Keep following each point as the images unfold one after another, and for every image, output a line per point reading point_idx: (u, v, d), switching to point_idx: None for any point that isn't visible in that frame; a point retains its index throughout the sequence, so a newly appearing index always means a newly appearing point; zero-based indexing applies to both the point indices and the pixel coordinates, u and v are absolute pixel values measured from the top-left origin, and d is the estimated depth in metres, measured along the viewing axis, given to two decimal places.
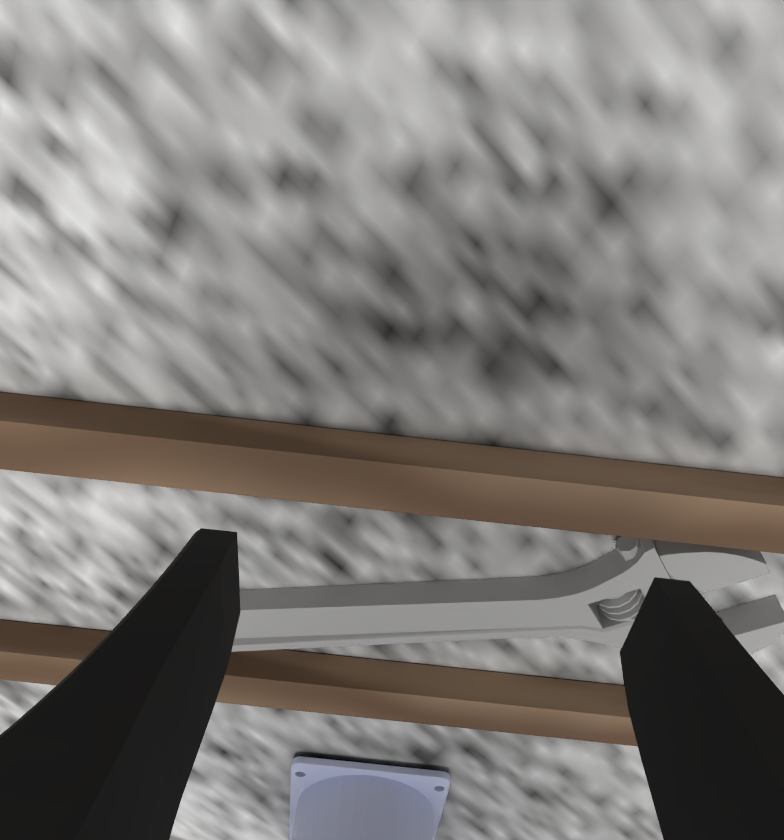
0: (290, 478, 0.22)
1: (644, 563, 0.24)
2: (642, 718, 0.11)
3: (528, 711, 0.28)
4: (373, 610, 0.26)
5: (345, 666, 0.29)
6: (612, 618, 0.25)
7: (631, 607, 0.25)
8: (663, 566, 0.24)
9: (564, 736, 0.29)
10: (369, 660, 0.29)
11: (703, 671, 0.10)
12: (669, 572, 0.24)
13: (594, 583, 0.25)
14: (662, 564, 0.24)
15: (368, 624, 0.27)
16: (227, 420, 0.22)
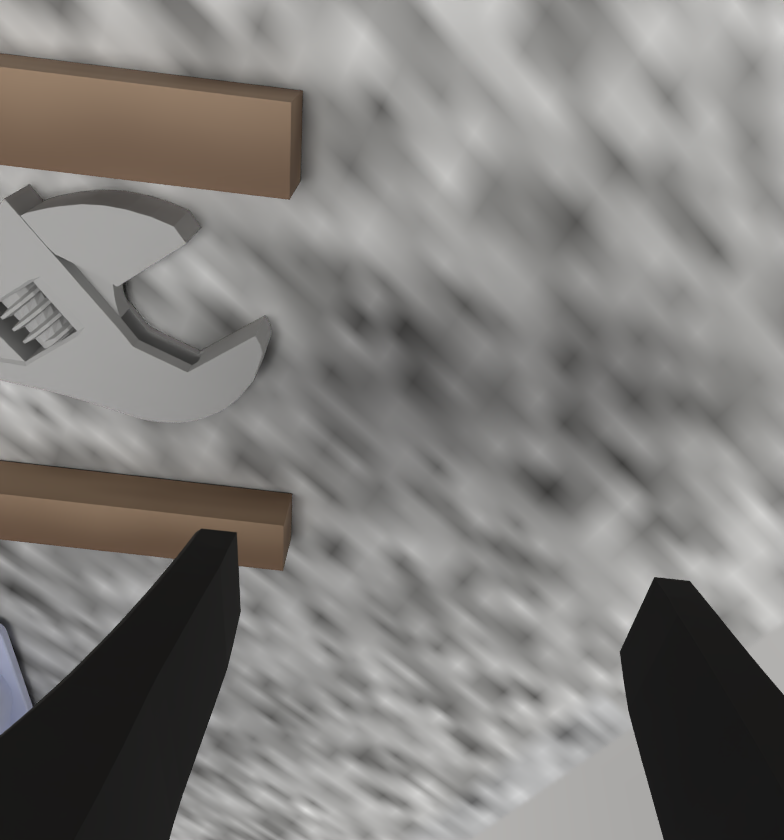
0: None
1: (8, 231, 0.16)
2: (642, 718, 0.11)
3: None
4: None
5: None
6: (24, 340, 0.18)
7: (31, 315, 0.17)
8: (36, 236, 0.16)
9: (67, 545, 0.22)
10: None
11: (702, 672, 0.10)
12: (50, 247, 0.16)
13: None
14: (33, 232, 0.16)
15: None
16: None
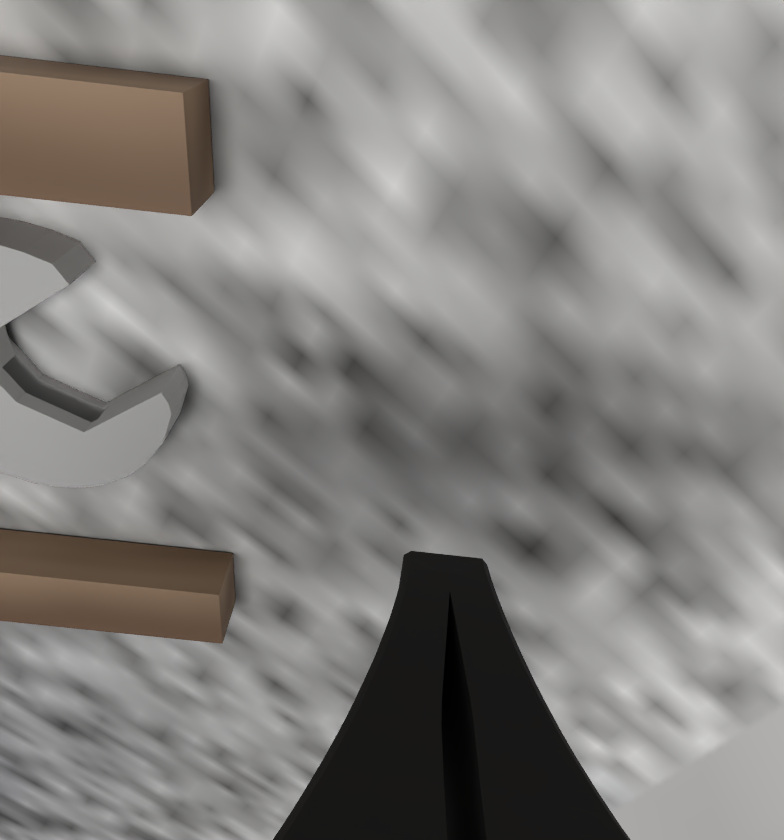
0: None
1: None
2: None
3: None
4: None
5: None
6: None
7: None
8: None
9: None
10: None
11: (456, 646, 0.09)
12: None
13: None
14: None
15: None
16: None
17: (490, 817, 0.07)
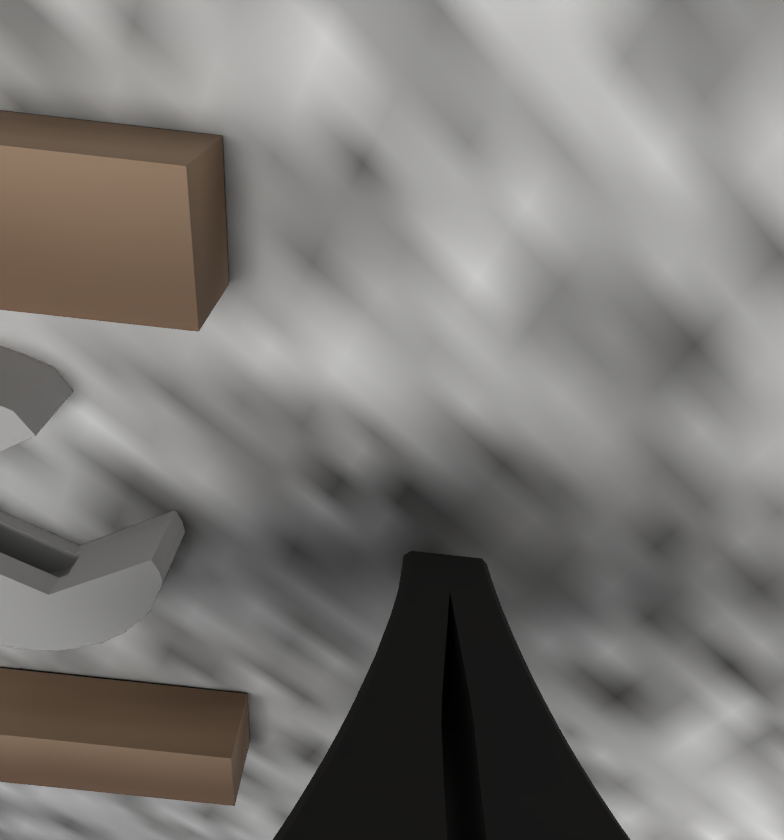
0: None
1: None
2: None
3: None
4: None
5: None
6: None
7: None
8: None
9: None
10: None
11: (456, 646, 0.09)
12: None
13: None
14: None
15: None
16: None
17: (490, 817, 0.07)
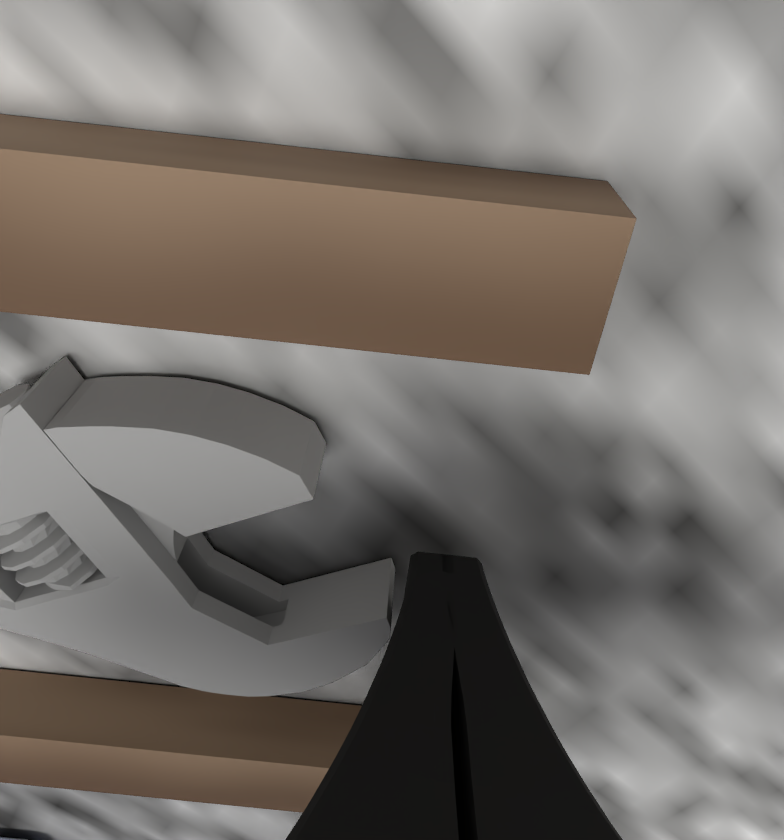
0: None
1: (18, 447, 0.10)
2: None
3: (45, 747, 0.14)
4: None
5: None
6: (18, 580, 0.11)
7: (37, 557, 0.11)
8: (65, 459, 0.10)
9: (146, 793, 0.15)
10: None
11: (450, 645, 0.09)
12: (86, 476, 0.10)
13: None
14: (61, 453, 0.10)
15: None
16: None
17: (482, 816, 0.07)
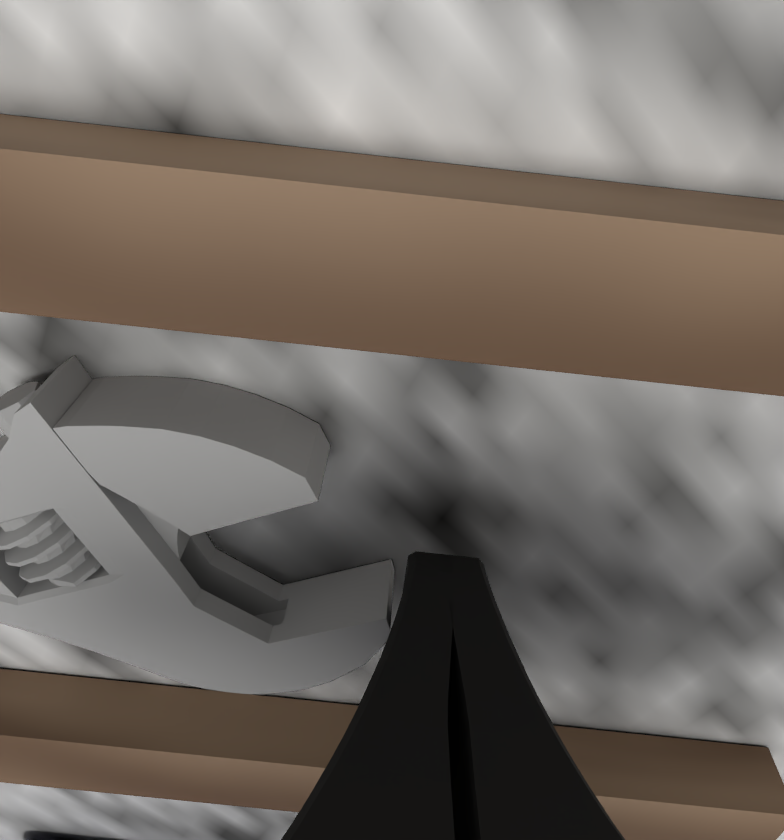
0: None
1: (27, 444, 0.10)
2: None
3: None
4: None
5: (28, 692, 0.15)
6: (22, 576, 0.12)
7: (42, 553, 0.11)
8: (73, 457, 0.10)
9: None
10: (81, 680, 0.15)
11: (452, 645, 0.09)
12: (94, 475, 0.10)
13: None
14: (69, 452, 0.10)
15: None
16: None
17: (485, 816, 0.07)
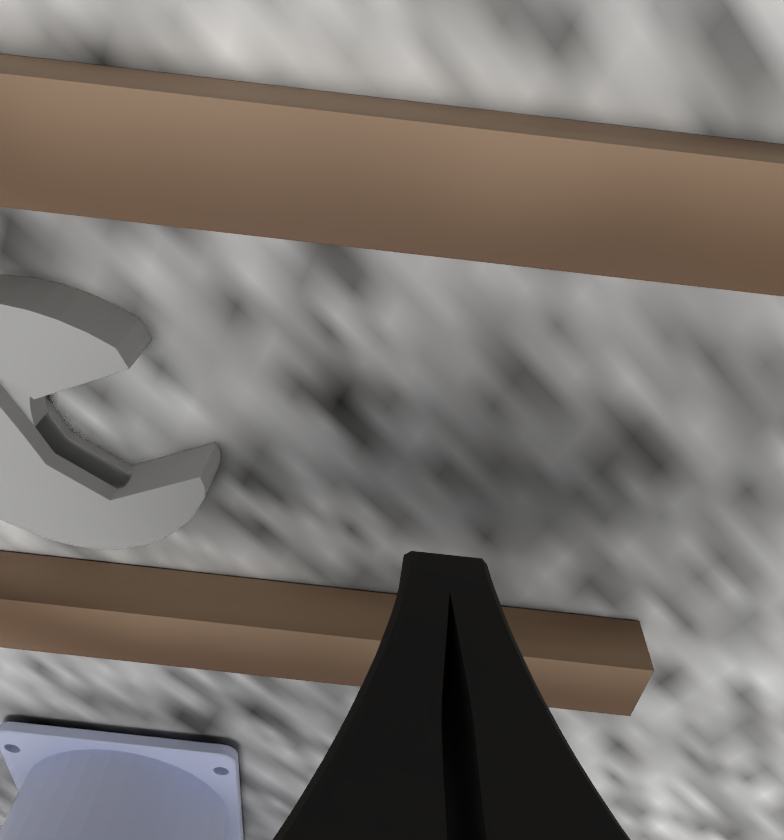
0: None
1: None
2: None
3: (296, 639, 0.17)
4: None
5: (3, 565, 0.17)
6: None
7: None
8: None
9: None
10: (48, 558, 0.18)
11: (456, 645, 0.09)
12: None
13: None
14: None
15: None
16: None
17: (490, 817, 0.07)
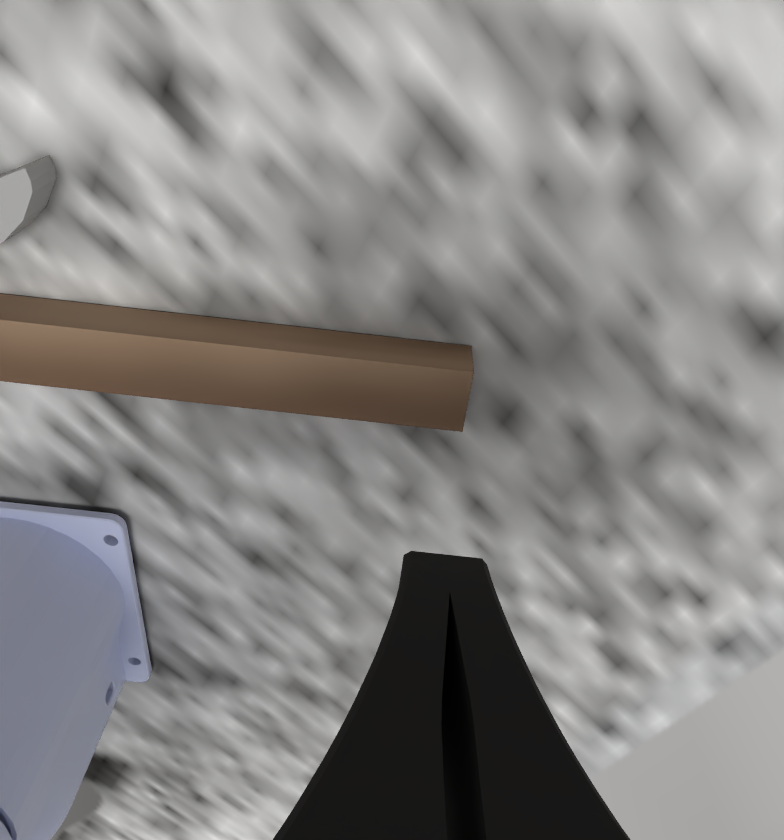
0: None
1: None
2: None
3: (147, 346, 0.18)
4: None
5: None
6: None
7: None
8: None
9: (220, 403, 0.19)
10: None
11: (456, 646, 0.09)
12: None
13: None
14: None
15: None
16: None
17: (490, 817, 0.07)
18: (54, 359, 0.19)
